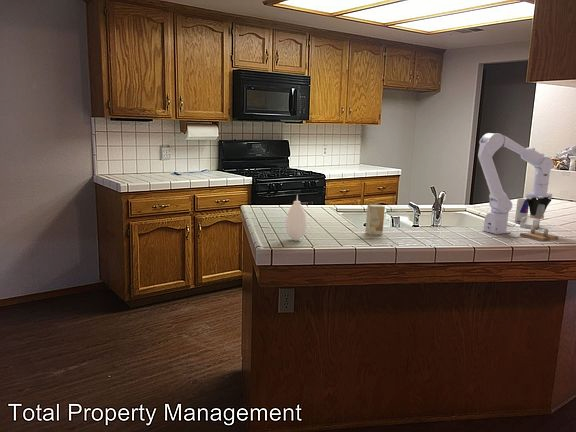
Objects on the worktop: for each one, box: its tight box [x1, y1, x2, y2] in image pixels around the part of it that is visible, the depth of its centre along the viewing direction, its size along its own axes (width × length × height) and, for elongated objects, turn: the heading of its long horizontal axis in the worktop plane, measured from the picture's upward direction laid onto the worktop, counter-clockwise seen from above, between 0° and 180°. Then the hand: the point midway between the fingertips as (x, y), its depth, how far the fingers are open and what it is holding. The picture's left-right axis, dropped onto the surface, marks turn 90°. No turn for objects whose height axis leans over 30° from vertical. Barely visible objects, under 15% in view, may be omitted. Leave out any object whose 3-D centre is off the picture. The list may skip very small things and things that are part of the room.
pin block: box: [519, 226, 559, 242], centre depth 203 cm, size 11×10×4 cm
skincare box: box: [365, 204, 386, 236], centre depth 199 cm, size 6×4×12 cm
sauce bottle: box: [285, 194, 308, 242], centre depth 183 cm, size 8×8×18 cm
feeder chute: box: [519, 215, 541, 230], centre depth 225 cm, size 9×6×5 cm
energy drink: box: [514, 197, 529, 224], centre depth 235 cm, size 5×5×12 cm
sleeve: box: [529, 204, 545, 220], centre depth 211 cm, size 6×6×6 cm
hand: (536, 214), depth 211 cm, fingers closed on sleeve, 5 cm apart
